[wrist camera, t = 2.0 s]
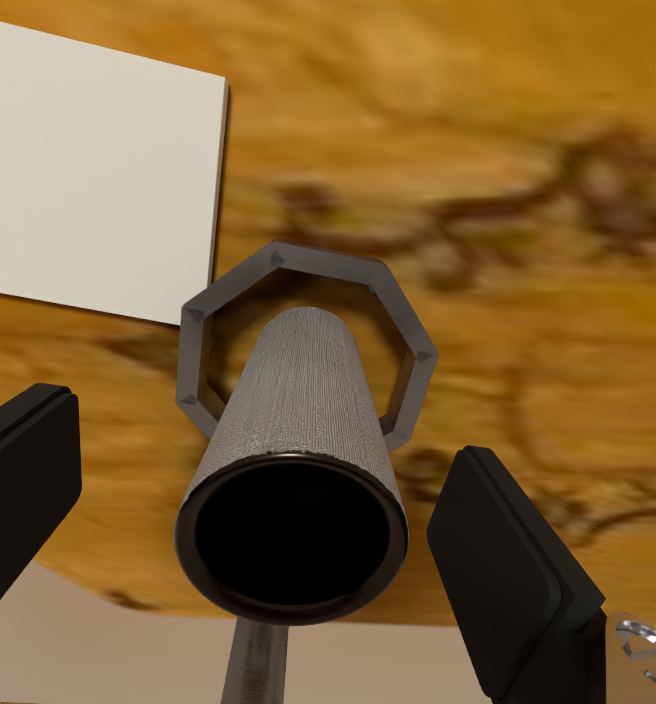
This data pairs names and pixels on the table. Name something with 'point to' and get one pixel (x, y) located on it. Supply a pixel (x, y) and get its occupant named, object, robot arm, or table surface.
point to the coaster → (106, 176)
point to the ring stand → (207, 408)
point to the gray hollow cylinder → (295, 484)
